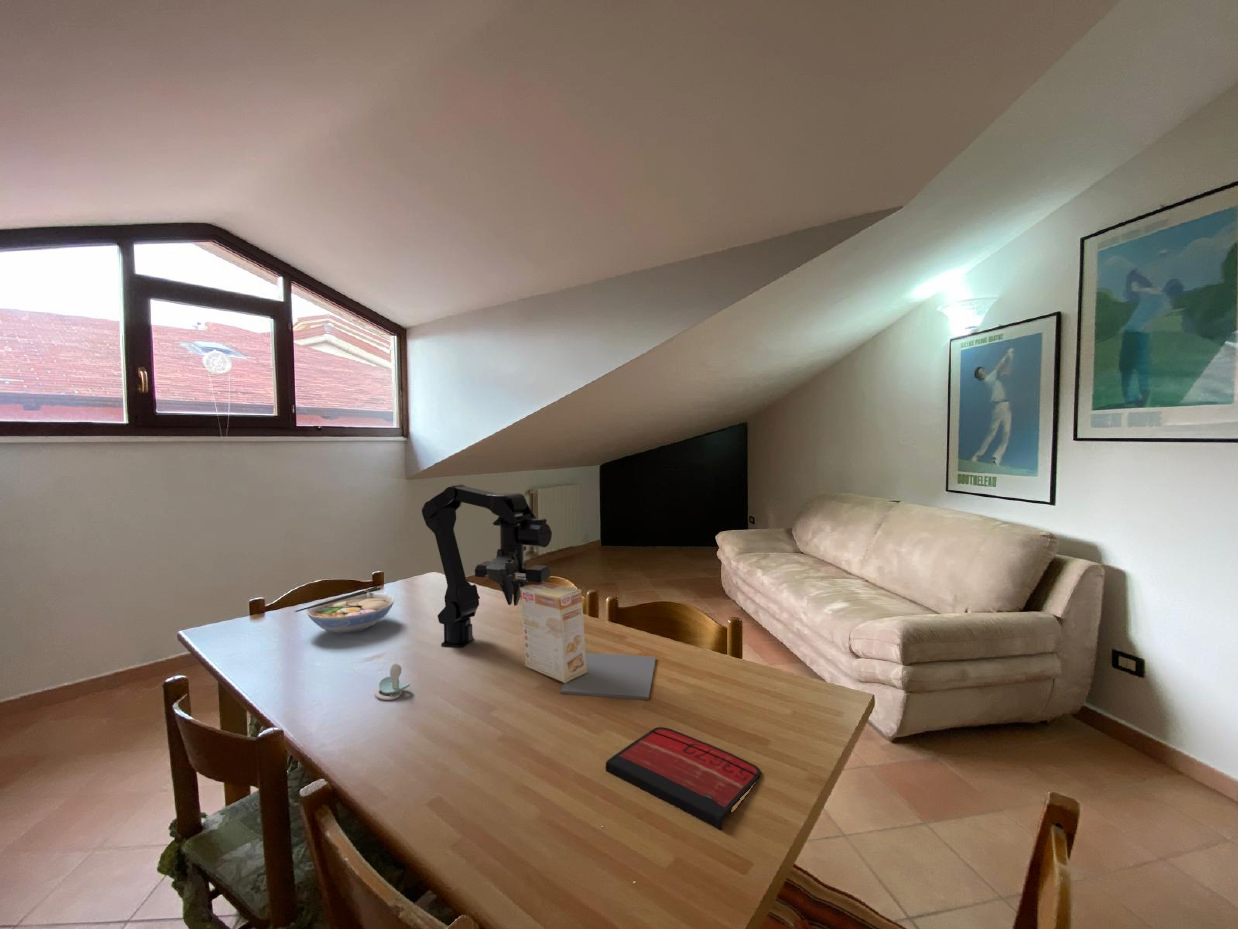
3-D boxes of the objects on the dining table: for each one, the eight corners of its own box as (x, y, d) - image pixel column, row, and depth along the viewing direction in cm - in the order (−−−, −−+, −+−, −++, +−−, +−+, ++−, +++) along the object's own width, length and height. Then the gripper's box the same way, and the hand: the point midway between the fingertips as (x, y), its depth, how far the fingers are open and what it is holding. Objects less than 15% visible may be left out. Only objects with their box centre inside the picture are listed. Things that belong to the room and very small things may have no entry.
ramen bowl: (330, 652, 130) (329, 621, 130) (286, 635, 142) (285, 606, 142) (415, 623, 151) (414, 596, 151) (370, 610, 163) (369, 585, 163)
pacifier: (388, 705, 104) (414, 692, 109) (387, 676, 104) (412, 664, 109) (368, 696, 108) (393, 684, 113) (366, 668, 108) (392, 657, 113)
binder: (721, 817, 70) (604, 760, 83) (720, 834, 70) (604, 774, 83) (765, 764, 83) (658, 721, 95) (765, 778, 83) (658, 734, 95)
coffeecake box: (588, 672, 116) (582, 589, 116) (564, 684, 111) (558, 597, 110) (547, 656, 127) (541, 579, 126) (524, 666, 121) (518, 587, 121)
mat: (560, 693, 108) (560, 690, 108) (581, 654, 128) (581, 652, 128) (648, 699, 106) (648, 697, 106) (655, 659, 125) (655, 657, 125)
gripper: (460, 547, 122) (461, 611, 123) (529, 552, 116) (530, 619, 117) (486, 539, 132) (487, 598, 133) (550, 543, 127) (551, 604, 127)
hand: (512, 605), depth 127 cm, fingers closed
